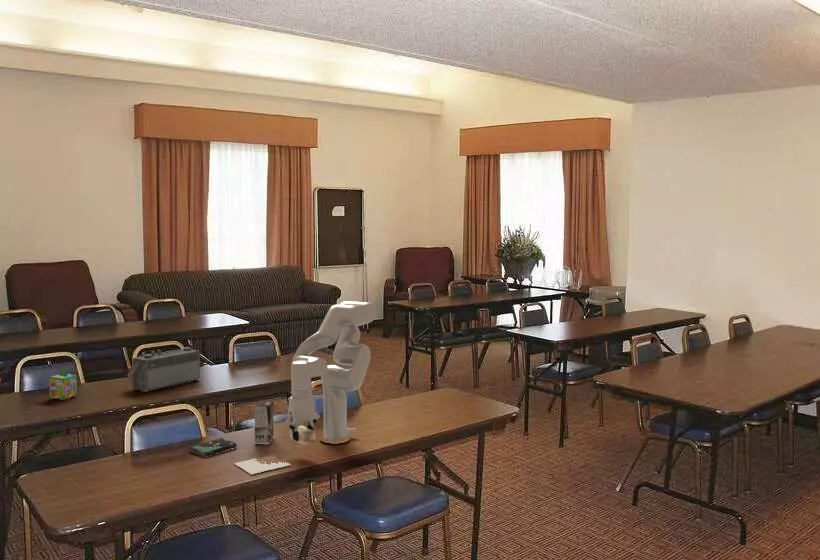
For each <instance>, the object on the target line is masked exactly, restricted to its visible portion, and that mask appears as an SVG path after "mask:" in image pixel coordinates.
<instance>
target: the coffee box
mask: <svg viewBox="0 0 820 560" xmlns="http://www.w3.org/2000/svg"><path fill="white" fill-rule="evenodd" d="M274 402H275V401H274V400H258V402H256V404H255V406H254V444H255V443H270V441H271V440H272V438H273V436H274V437H275V435H274V434H275V433H274V432H275V430H274V429H275V428H274V426H275V424H274V423H275V419H274V414H275V413H274V411H275V410H274ZM272 441H273V440H272Z"/></svg>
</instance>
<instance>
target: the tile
mask: <svg viewBox="0 0 820 560" xmlns="http://www.w3.org/2000/svg"><path fill="white" fill-rule="evenodd" d="M297 431H298V432H299V433H298V434H299V441H295V440H293V437H292V430H291V429H290V428H289V439H290V440H293V441H295V442H296V443H298V444H300V445H302V446H306V445H309V444H312V443H317V442H316V441H317V435H316V433H317V432H316V431H315V430H314V429H313V430H310V429H308V428H307V426H305V425H298V429H297Z"/></svg>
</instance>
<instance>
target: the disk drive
mask: <svg viewBox="0 0 820 560" xmlns="http://www.w3.org/2000/svg"><path fill="white" fill-rule="evenodd" d="M189 447H190V448H189V449H190V450H189V451H190V453H191V454H194V453H195V454H194V455H197V454H199V455H202V456H204V457H203V458H205V457H207V456H210V455H213V454H216V453H219V452H222V451H225V450H228V449H231V448H235V447H236V448H237V443H236V442H234V441H231V440H225V438H217V439H213V440H209V441H206V442H203V443H199V444H195V445H192V446H189ZM199 455H198V456H199ZM216 455H217V454H216ZM202 456H201V457H202ZM213 456H214V455H213ZM210 457H211V456H210ZM207 458H208V457H207Z"/></svg>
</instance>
